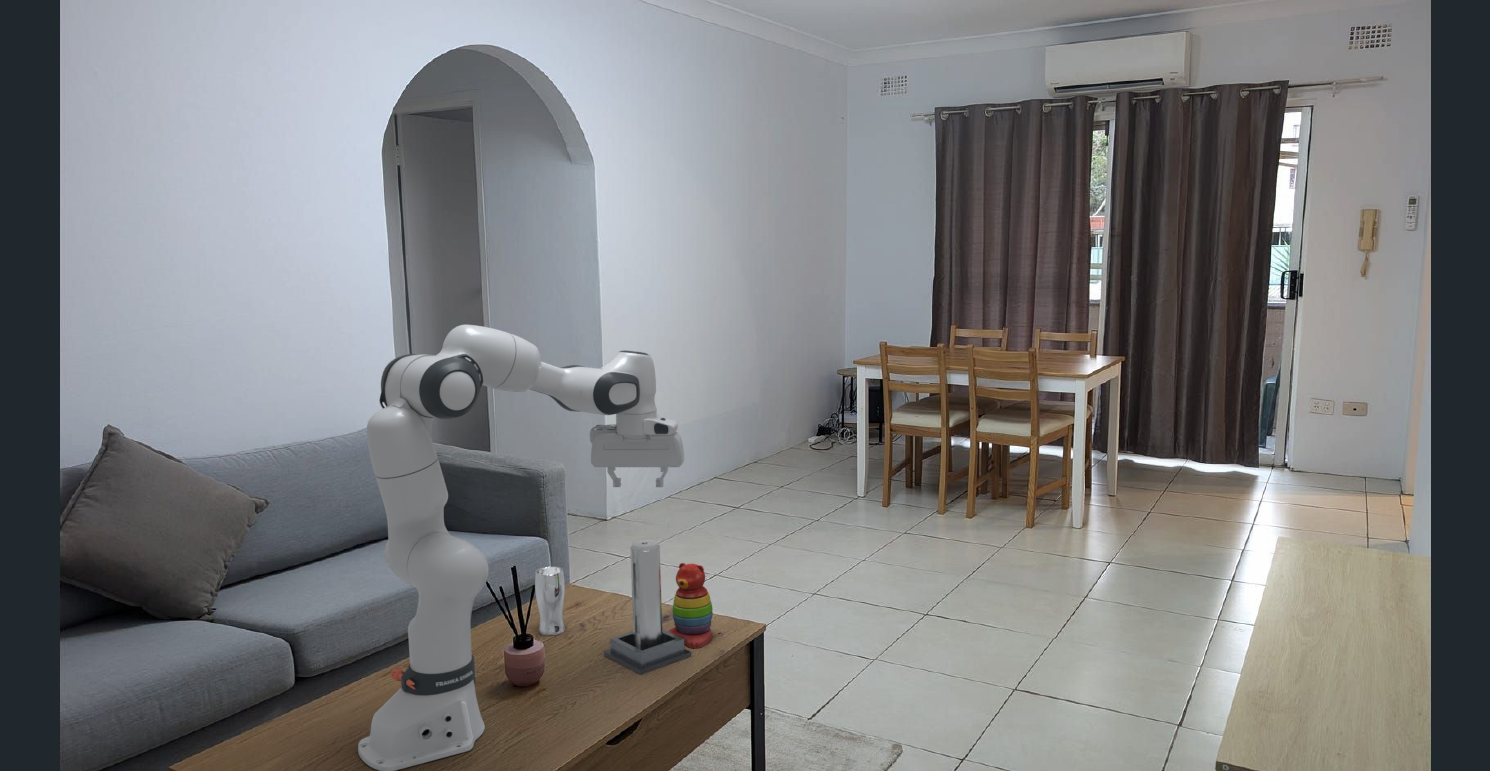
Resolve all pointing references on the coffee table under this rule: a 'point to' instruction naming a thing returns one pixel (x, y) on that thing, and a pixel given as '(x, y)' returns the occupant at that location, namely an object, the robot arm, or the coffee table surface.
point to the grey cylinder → (646, 594)
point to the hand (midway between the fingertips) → (638, 486)
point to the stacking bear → (692, 607)
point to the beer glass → (550, 599)
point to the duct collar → (646, 652)
